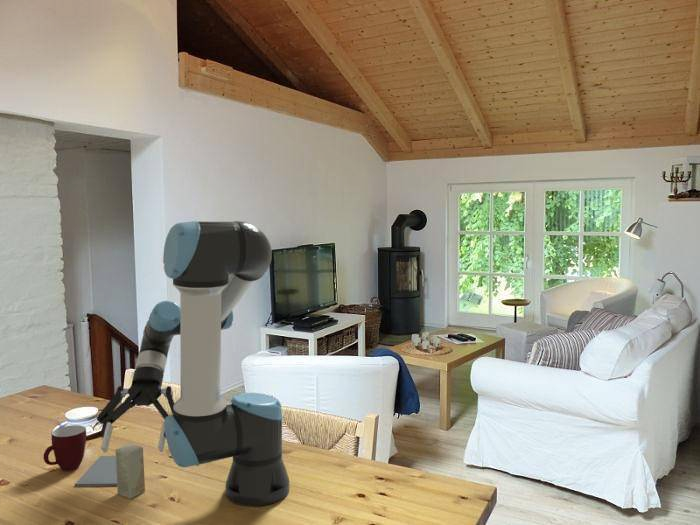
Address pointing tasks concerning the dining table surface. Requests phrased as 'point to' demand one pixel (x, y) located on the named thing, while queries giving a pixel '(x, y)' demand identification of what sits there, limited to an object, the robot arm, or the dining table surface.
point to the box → (130, 470)
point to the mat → (100, 473)
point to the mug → (67, 447)
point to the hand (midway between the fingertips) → (132, 450)
